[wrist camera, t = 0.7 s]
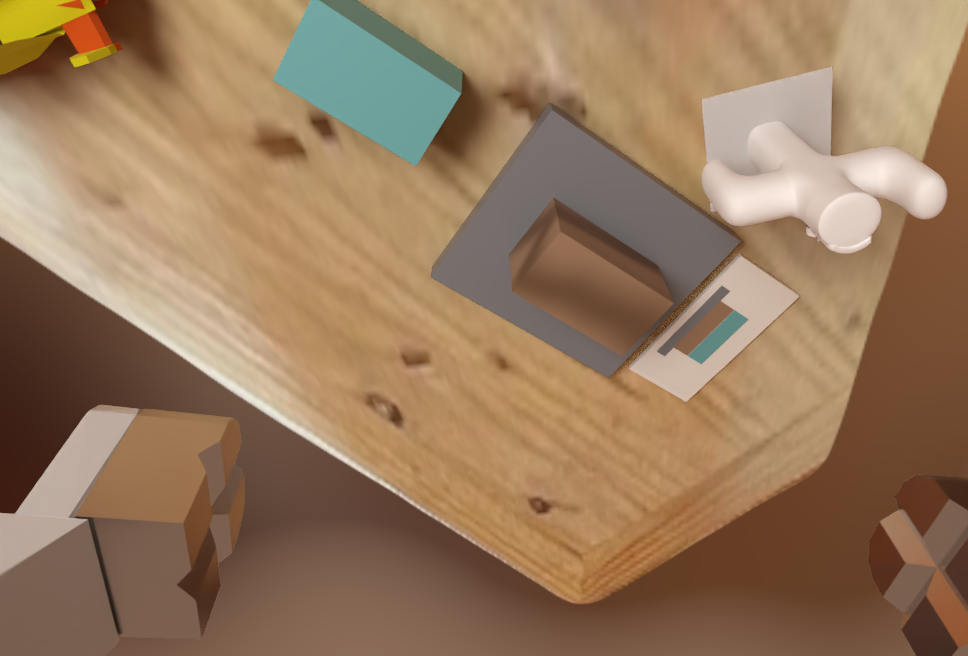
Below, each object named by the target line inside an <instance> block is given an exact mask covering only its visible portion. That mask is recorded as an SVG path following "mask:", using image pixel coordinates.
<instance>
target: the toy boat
mask: <svg viewBox="0 0 968 656" xmlns="http://www.w3.org/2000/svg"><path fill="white" fill-rule="evenodd" d="M107 1H108V0H100V1H97V2H95V3H92V1H91V0H0V40H1V42H2V45H0V75H1V74H6V73H8V72H10V71H12V70H14V69H16V68H18V67H21V66H23V65H25V64H27V63H29V62H31V61H33V60H35V59H37V58H39V57H40V56H41V54H42V53H43V52H44V51H45V50H46V49H47V47H48V46H49V45H50V44H51V43H52V42H53V40H54V39H55V38H56V37H59V36H62V35H64V34H65V32H66V34H67V35H68V37H69V39H70V40H71V42H72V43H73V45H74V46H75V48H76V50H77V51H78V54H76V55H74V56H72V57H70V60H71V62H72V64H73V66H74V67H78V66H82V65H85V64H89V63H92V62H94V61H97V60H99V59H102V58H104V57H107V56H109V55H112V54H114V53H115V52H117V51H119V50H121V49H122V48H121V46H120V44H119V42H114V43H112V41H111V39H110V37H109V36H108V34H107V32H106V30H105V28H104V26H103V24H102V22H101V20H100V19H99V17H98V15H97V13H96V11H95V10H96V9H98V8H100V7H102V6H104V5H105V4H106V3H107Z"/></svg>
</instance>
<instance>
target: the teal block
mask: <svg viewBox="0 0 968 656" xmlns="http://www.w3.org/2000/svg"><path fill="white" fill-rule="evenodd" d="M462 76H463V71H462V70H460V69H459V68H457V67H456V66H454V65H453V64H451V63H450V62H448V61H447V60H445V59H444V58H442V57H441V56H439V55H438V54H436V53H435V52H433V51H432V50H430V49H429V48H427V47H426V46H424V45H423V44H421V43H420V42H418V41H417V40H415V39H414V38H412V37H411V36H409V35H408V34H406V33H405V32H403V31H402V30H400V29H399V28H397V27H396V26H394V25H393V24H391V23H390V22H388V21H387V20H385V19H384V18H382V17H381V16H379V15H378V14H376V13H375V12H373V11H372V10H370V9H369V8H367V7H366V6H364V5H363V4H361V3H360V2H358V1H357V0H311V1H310V3H309V5H308V7H307V9H306V11H305V13H304V15H303V17H302V20H301V22H300V24H299V26H298V28H297V30H296V32H295V34H294V36H293V38H292V41H291V43H290V45H289V47H288V49H287V51H286V53H285V55H284V57H283V59H282V62H281V64H280V66H279V68H278V70H277V72H276V74H275V76H274V78H273V81H275V82H277V83H278V84H280V85H282V86H283V87H285V88H287V89H288V90H290V91H292V92H293V93H295V94H297V95H298V96H300V97H302V98H303V99H305V100H307V101H308V102H310V103H312V104H313V105H315V106H317V107H318V108H320V109H321V110H323V111H325V112H326V113H328V114H330V115H331V116H333V117H335V118H336V119H338V120H340V121H341V122H343V123H345V124H346V125H348V126H350V127H351V128H353V129H355V130H356V131H358V132H360V133H361V134H363V135H365V136H366V137H368V138H370V139H371V140H373V141H375V142H376V143H378V144H380V145H381V146H383V147H385V148H386V149H388V150H390V151H391V152H393V153H395V154H396V155H398V156H400V157H401V158H403V159H404V160H406V161H408V162H409V163H411V164H413V165H414V166H416V165H417V164H418V162H419V160H420V159H421V157H422V156H423V154H424V152H425V151H426V149H427V148H428V146H429V144H430V143H431V141H432V140H433V138H434V136H435V135H436V133H437V132H438V130H439V128H440V127H441V125H442V124H443V122H444V120H445V119H446V117H447V116H448V114H449V112H450V111H451V109H452V108H453V106H454V105H455V103H456V101H457V100H458V98H459V97H460V95H461V92H462Z"/></svg>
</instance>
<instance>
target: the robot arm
mask: <svg viewBox="0 0 968 656" xmlns="http://www.w3.org/2000/svg"><path fill="white" fill-rule="evenodd" d="M240 447H241V437H240V429H239V423H238V421H236V420H235V419H234V418H229V417H219V416H210V415H201V414H191V413H182V412H172V411H163V410H152V409H145V410H142V409H135V408H126V407H116V406H107V405H99V406H97V407H95V408H93V409H92V410H90V411H88V412H87V413H86V415H85V416H84V418H83V419H82V420H81V422H80V423H79V424H78V426H77V427H76V429H75V430H74V431H73V433H72V434H71V436H70V437H69V438H68V440H67V441H66V443H65V444H64V446H63V447H62V448H61V450H60V451H59V453H58V454H57V455H56V457H55V458H54V460H53V461H52V462H51V464H50V465H49V467H48V468H47V469H46V471H45V472H44V474H43V475H42V477H41V478H40V479H39V481H38V482H37V483H36V485H35V486H34V488H33V489H32V490H31V492H30V493H29V495H28V496H27V498H26V499H25V500H24V502H23V503H22V505H21V506H20V507H19V509H18V510H17V512H16V513H15V514H5V513H0V656H104V655H106V654H107V653H108V652H109V651H110V650H111V649H112V648H113V647H114V646H115V645H116V644H117V643H118V642H119V637H146V638H178V639H202V637H203V634H204V631H205V628H206V626H207V623H208V620H209V617H210V614H211V611H212V609H213V606H214V603H215V600H216V597H217V594H218V591H219V589H220V576H219V567H218V563H220V562H221V561H222V560H223V559H225V558H226V557H227V556H229V555H230V554H231V553H232V551H233V548H234V546H235V542H236V540H237V537H238V533H239V529H240V524H241V519H242V514H243V509H244V495H245V483H244V472H243V471H242V470H241V469H240V468H239V467H238V466H237V465H236V464H235V463H234V462H235V460H236V457H237V454H238V452H239V449H240ZM895 497H896V501H897V504H898V507H899V510H898V511H896V512H894V513H893V514H891V515H890V516H888V517H886V518H885V519H883V520H881V521H880V522H879V524H878V526H877V527H876V529H875V531H874V533H873V535H872V537H871V538H870V541H869V560H868V561H869V565H870V569H871V573H872V577H873V580H874V581H875V583H876V585H877V587H878V589H879V591H880V593H881V594H882V596H883V597H884V598H885V599H886V600H887V601H889V602H890V603H891V604H892V605H894V606H895V607H896V608H897V609H898V610H900V611H901V612H902V613H903V614H904V616H903V623H902V628H901V630H902V632H903V633H904V635H905V637H906V639H907V640H908V642H909V644H910V646H911V648H912V649H913V651H914V653H915V654H916V656H968V478H958V477H946V476H931V475H918V474H917V475H915V476H914V477H912V478H910V479H909V480H907V481H905V482H904V484H903V485H902V487H901V488H900V490H899V491H898V493H897V494H896V496H895Z"/></svg>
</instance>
